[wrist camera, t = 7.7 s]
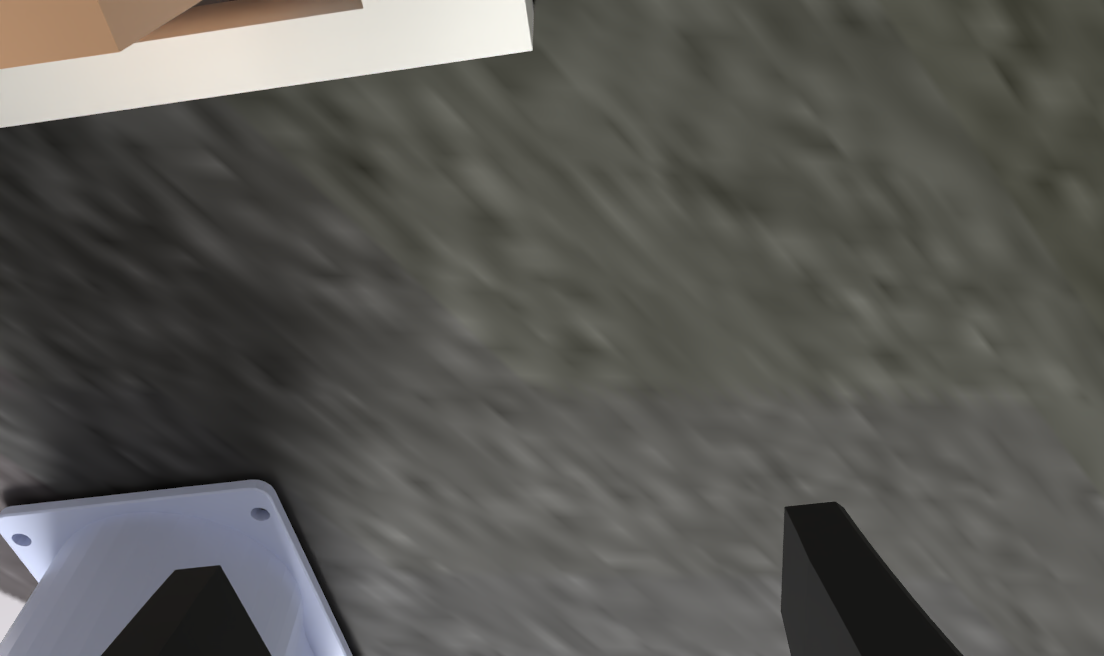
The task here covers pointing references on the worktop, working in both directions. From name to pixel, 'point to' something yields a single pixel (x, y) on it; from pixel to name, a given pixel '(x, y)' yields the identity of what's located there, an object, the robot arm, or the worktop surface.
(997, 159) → the worktop surface
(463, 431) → the worktop surface
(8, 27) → the plug
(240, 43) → the white compartment tray
